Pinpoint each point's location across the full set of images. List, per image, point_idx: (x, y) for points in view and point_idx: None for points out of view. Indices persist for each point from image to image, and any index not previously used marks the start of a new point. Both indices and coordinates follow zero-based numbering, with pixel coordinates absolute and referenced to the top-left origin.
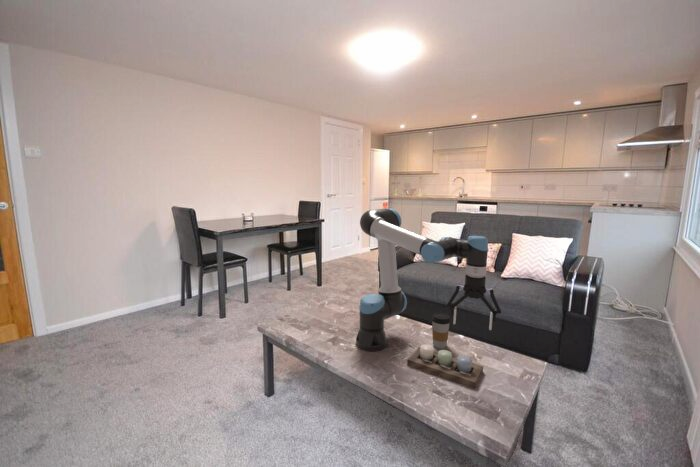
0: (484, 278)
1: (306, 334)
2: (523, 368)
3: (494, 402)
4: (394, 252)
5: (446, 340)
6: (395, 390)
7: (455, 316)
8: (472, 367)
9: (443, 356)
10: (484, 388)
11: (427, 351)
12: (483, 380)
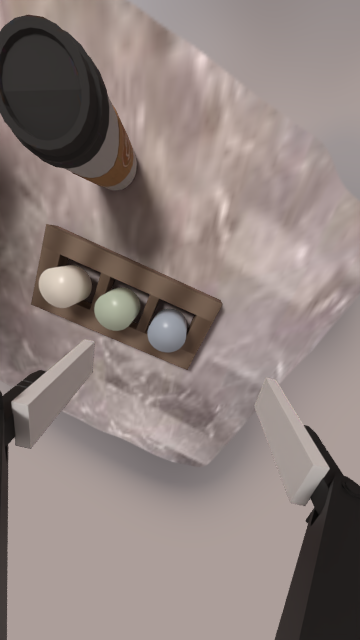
0: None
1: None
2: (340, 264)
3: (214, 394)
4: None
5: (127, 173)
6: None
7: (66, 402)
8: (193, 313)
9: (109, 329)
10: (207, 359)
11: (64, 307)
12: (212, 333)
